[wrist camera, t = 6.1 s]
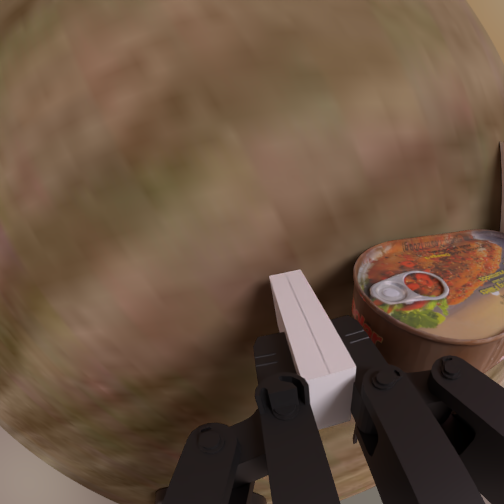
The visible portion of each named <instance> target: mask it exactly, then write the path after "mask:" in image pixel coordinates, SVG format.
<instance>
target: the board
mask: <svg viewBox="0 0 504 504" xmlns="http://www.w3.org/2000/svg"><path fill="white" fill-rule="evenodd" d="M500 151H501V167H502V206H501V223H500V232H502V233H504V142H500Z"/></svg>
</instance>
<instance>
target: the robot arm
mask: <svg viewBox="0 0 504 504" xmlns="http://www.w3.org/2000/svg"><path fill="white" fill-rule="evenodd" d="M269 278H270V284H271V289H272V295H273V301H274V307H275V312H276V318H277V324H278V328H279V331H280V333H276V334H271V335H266V336H261V337H258V338H257V340H256V342H255V344H254V346H253V348H254V356H255V364H256V372H257V379H258V386H257V388H256V391H255V399H256V402H257V406H258V409H257V410H256V412H255V413H254V414H253V415H252V416H251V417H249V418H248V419H246V420H244V421H242V422H240V423H238V424H235V425H233V426H230V427H228V426H227V425H224V424H220V423H207V424H205V425H202V426H199V427H198V428H196V429H195V430H194V431H192V432H191V434H190V436H189V437H188V439H187V441H186V444H185V446H184V449H183V451H182V454H181V456H180V459H179V462H178V464H177V467H176V469H175V472H174V474H173V477H172V479H171V482H170V484H169V487H168V488H165V489H161V490H159V491H157V492H156V498H155V504H267V502H266V499H265V498H264V497H263V496H261V495H258V494H255V493H253V488H254V483H255V480H258V479H260V478H262V477H265V476H267V475H269V482H270V489H271V496H272V503H273V504H340V501H339V497H338V494H337V490H336V487H335V484H334V480H333V477H332V474H331V470H330V467H329V464H328V460H327V457H326V454H325V451H324V447H323V444H322V441H321V437H320V434H319V431H318V430H319V429H323V428H326V427H330V426H334V425H337V424H340V423H344V422H347V421H350V418H351V413H352V415H353V417H354V419H355V422H356V424H355V430H354V435H353V444H355V443H357V439H358V441H359V443H360V446H361V448H362V451H363V453H364V456H365V458H366V461H367V463H368V466H369V468H370V471H371V474H372V476H373V479H374V481H375V484H376V486H377V489H378V491H379V494H380V497H381V500H382V502H383V504H485V502H484V501H483V498H482V497H481V495H480V493H481V494H482V495H483V496H484V497H485V498H486V499H487V500H488V501H489V502H490V503H491V504H504V388H503V387H502V386H500V385H499V384H497V383H496V382H495V381H493V380H492V379H490V378H489V377H488V376H486V375H485V374H483V373H482V372H481V371H479V370H478V369H476V368H475V367H474V366H472V365H471V364H469V363H468V362H466V361H465V360H463V359H462V358H459V357H457V356H451V355H448V356H443V357H441V358H439V359H437V360H436V361H435V362H434V364H433V365H432V368H431V370H427V371H420V372H411V373H406V372H404V371H402V370H401V369H400V368H399V367H396V366H394V365H389V364H388V363H387V362H386V360H385V359H384V357H383V356H382V354H381V353H380V351H379V350H378V349H377V347H376V346H375V344H374V343H373V341H372V340H371V339H370V338H369V336H368V334H367V333H366V331H364V329H363V327H362V326H361V324H360V323H359V322H358V321H357V320H356V319H354V318H352V317H350V316H349V315H347V316H343V317H339V318H335V319H332V320H330V319H329V317H328V315H327V314H326V312H325V310H324V309H323V307H322V305H321V303H320V302H319V300H318V298H317V297H316V295H315V293H314V291H313V290H312V288H311V286H310V285H309V283H308V281H307V280H306V278H305V276H304V275H303V273H302V271H301V270H295V271H291V272H286V273H281V274H276V275H271V276H269ZM479 492H480V493H479Z"/></svg>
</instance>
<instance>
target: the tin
mask: <svg viewBox="0 0 504 504" xmlns="http://www.w3.org/2000/svg"><path fill="white" fill-rule="evenodd" d="M353 279H354V291H353V301H352V318H354V319H356V320H357V321H358V322H359V323H360V324H361V326H362V327H363V329H364V331H366V333H367V334H368V336H369V338H370V339H371V340H372V341H373V343H374V344H375V346H376V347H377V349H378V350H379V351H380V353H381V354H382V356H383V357H384V359H385V360H386V362H387V363H388V364H389V365H394V366H396V367H399V368H400V369H401V370H402V371H404V372H406V373H411V372H420V371H427V370H431V368H432V365H433V364H434V362H435V361H436V360H437V359H439V358H441V357H443V356H448V355H451V356H457V357H459V358H462V359H463V360H465V361H466V362H468V363H469V364H471V365H472V366H474V367H475V368H476V369H478V370H479V371H481V372H482V373H485V372H486V371H488V370H489V369H491V368H492V367H494V366H495V365H497V364H498V363H499V362H501V361H502V360H503V359H504V233H502V232H499V231H493V230H486V229H474V230H466V231H459V232H451V233H445V234H438V235H431V236H422V237H415V238H407V239H400V240H393V241H388V242H384V243H380V244H378V245H375V246H373V247H371V248H369V249H368V250H366V251H365V252H363V253H362V254H361V255H360V256H359V258H358V259H357V261H356V263H355V265H354V269H353Z"/></svg>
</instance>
